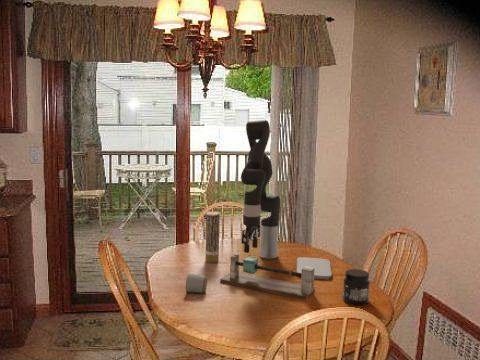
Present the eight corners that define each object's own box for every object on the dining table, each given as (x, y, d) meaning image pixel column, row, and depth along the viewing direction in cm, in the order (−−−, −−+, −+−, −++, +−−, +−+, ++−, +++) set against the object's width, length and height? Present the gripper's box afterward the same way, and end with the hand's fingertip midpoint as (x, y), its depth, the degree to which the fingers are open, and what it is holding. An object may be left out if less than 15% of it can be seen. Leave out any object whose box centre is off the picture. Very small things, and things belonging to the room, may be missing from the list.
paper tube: (202, 261, 233) (203, 213, 229) (209, 258, 239) (210, 211, 235) (214, 263, 230) (215, 215, 226) (221, 260, 236) (222, 212, 232)
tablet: (328, 263, 237) (329, 259, 236) (331, 281, 211) (332, 276, 211) (297, 261, 239) (297, 256, 239) (296, 278, 213) (296, 273, 213)
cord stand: (232, 274, 216) (233, 250, 214) (315, 290, 198) (317, 265, 196) (220, 282, 205) (220, 257, 203) (306, 300, 187) (308, 273, 186)
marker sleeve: (247, 268, 208) (248, 257, 207) (257, 270, 205) (258, 258, 205) (243, 271, 203) (243, 259, 203) (253, 273, 201) (253, 261, 200)
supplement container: (346, 293, 196) (348, 266, 194) (371, 299, 190) (373, 271, 189) (338, 302, 187) (340, 273, 185) (364, 308, 181) (366, 279, 180)
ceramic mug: (204, 295, 190) (205, 277, 189) (185, 294, 190) (185, 276, 189) (208, 286, 200) (208, 269, 199) (189, 285, 201) (190, 268, 200)
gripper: (251, 210, 209) (250, 245, 211) (237, 216, 196) (235, 252, 198) (266, 212, 205) (264, 247, 208) (252, 218, 193) (251, 255, 195)
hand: (250, 250), depth 203 cm, fingers open, 8 cm apart
